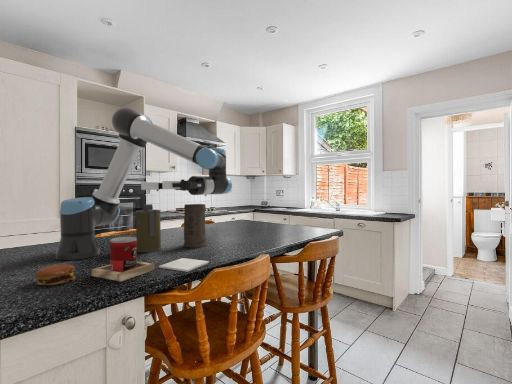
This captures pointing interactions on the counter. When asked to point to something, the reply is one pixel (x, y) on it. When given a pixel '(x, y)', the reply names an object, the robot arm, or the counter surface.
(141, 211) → the canister
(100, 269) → the oak holder frame
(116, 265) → the canned food
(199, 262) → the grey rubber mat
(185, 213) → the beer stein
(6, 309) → the counter surface
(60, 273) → the burger
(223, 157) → the robot arm
